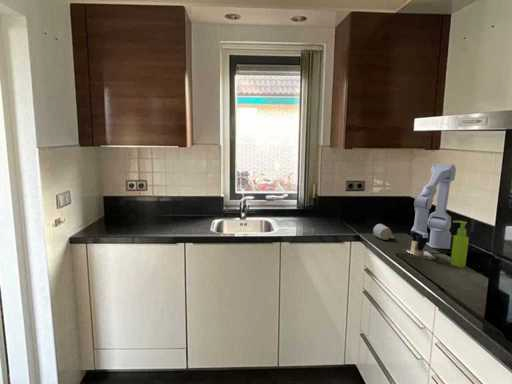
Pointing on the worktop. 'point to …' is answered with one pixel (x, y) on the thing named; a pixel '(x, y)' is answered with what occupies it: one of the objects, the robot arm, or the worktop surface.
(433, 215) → the robot arm
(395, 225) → the worktop surface
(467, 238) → the soap dispenser
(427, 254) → the blue-grey mat
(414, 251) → the maple block
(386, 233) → the ceramic mug
